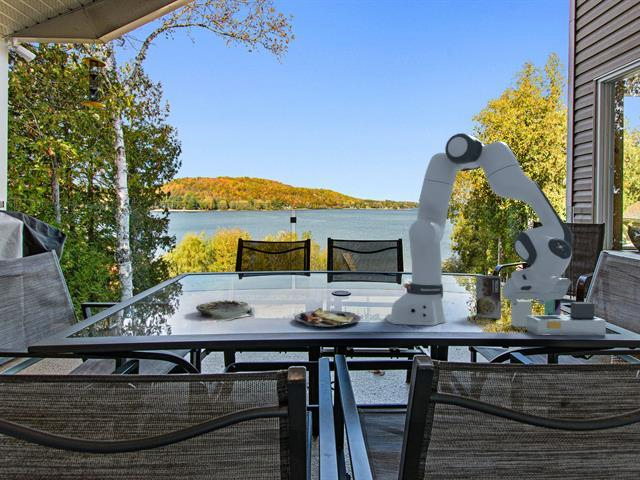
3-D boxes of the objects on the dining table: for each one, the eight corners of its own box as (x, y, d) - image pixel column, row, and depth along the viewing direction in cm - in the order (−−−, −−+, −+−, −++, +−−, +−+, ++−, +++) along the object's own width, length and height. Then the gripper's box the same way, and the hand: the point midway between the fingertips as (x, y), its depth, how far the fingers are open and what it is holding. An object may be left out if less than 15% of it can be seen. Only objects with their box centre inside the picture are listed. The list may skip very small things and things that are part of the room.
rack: (538, 335, 138) (538, 305, 138) (526, 329, 147) (526, 300, 146) (606, 335, 138) (606, 305, 138) (590, 329, 146) (590, 300, 146)
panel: (514, 326, 151) (514, 301, 151) (511, 324, 154) (511, 300, 154) (531, 326, 151) (531, 301, 151) (527, 324, 154) (527, 300, 154)
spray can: (562, 321, 158) (563, 268, 157) (546, 321, 159) (547, 268, 159) (557, 318, 164) (558, 267, 163) (542, 317, 165) (542, 266, 164)
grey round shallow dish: (206, 325, 157) (205, 312, 157) (176, 315, 177) (176, 303, 177) (268, 314, 175) (268, 303, 175) (235, 306, 196) (234, 295, 196)
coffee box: (501, 316, 169) (501, 275, 168) (500, 319, 163) (501, 277, 162) (477, 314, 173) (477, 274, 172) (475, 317, 167) (475, 276, 166)
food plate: (282, 321, 161) (282, 312, 160) (323, 312, 178) (323, 304, 178) (331, 334, 144) (332, 324, 143) (372, 323, 161) (372, 314, 161)
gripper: (569, 271, 140) (553, 295, 150) (507, 271, 140) (495, 296, 151) (577, 286, 136) (560, 310, 146) (513, 287, 136) (500, 311, 146)
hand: (526, 303), depth 148 cm, fingers open, 8 cm apart
